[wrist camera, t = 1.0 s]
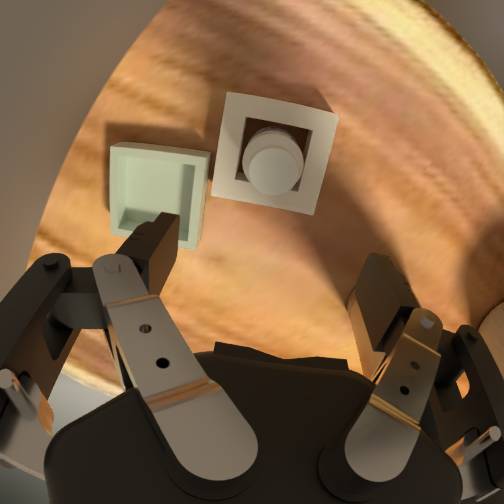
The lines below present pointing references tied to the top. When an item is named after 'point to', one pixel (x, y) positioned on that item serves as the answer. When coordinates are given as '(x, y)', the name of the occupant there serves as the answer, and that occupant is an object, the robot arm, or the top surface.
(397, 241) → the top surface
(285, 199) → the socket block
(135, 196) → the parts tray
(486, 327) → the canister
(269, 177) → the pill bottle
